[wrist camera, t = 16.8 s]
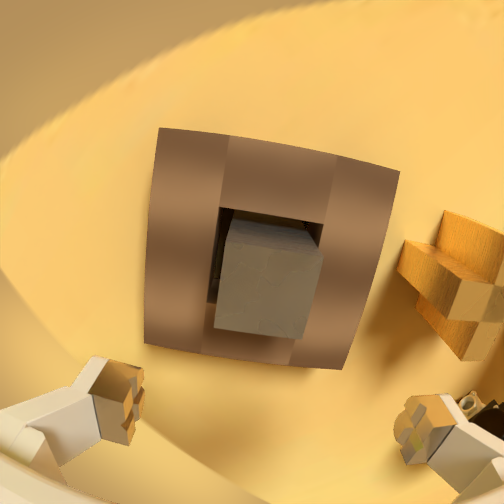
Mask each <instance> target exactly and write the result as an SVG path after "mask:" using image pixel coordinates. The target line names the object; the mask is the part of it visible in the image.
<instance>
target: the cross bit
mask: <svg viewBox="0 0 504 504" xmlns="http://www.w3.org/2000/svg"><path fill="white" fill-rule="evenodd" d="M396 270H397V271H398V272H399V273H400V274H401V275H402V276H403V277H404V278H405V279H406V280H407V281H408V282H409V283H411V284H412V285H413V286H414V287H415V288H416V289H417V290H418V291H419V292H420V295H419V297H418V300H417V303H416V306H415V309H416V310H417V311H418V312H419V313H420V314H421V315H422V316H423V317H424V319H425V320H426V321H427V322H428V323H429V324H430V325H431V326H432V328H433V329H434V330H435V331H436V332H437V333H438V335H439V336H440V337H441V338H442V339H443V340H444V342H445V343H446V344H447V345H448V346H449V347H450V349H451V350H452V351H453V352H454V353H455V355H456V356H457V357H458V358H459V359H460V361H484V360H485V358H486V357H487V355H488V353H489V351H490V349H491V347H492V344H493V342H494V340H495V338H496V336H497V334H498V332H499V330H500V327H501V325H502V323H504V232H502V231H499V230H497V229H495V228H492V227H490V226H488V225H486V224H483V223H481V222H478V221H476V220H474V219H471V218H469V217H466V216H463V215H460V214H457V213H453V212H450V211H446V210H444V214H443V218H442V222H441V226H440V230H439V233H438V237H437V241H436V244H435V246H433V245H428V244H423V243H419V242H414V241H409V240H405V242H404V245H403V249H402V252H401V256H400V259H399V263H398V266H397V269H396Z"/></svg>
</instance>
